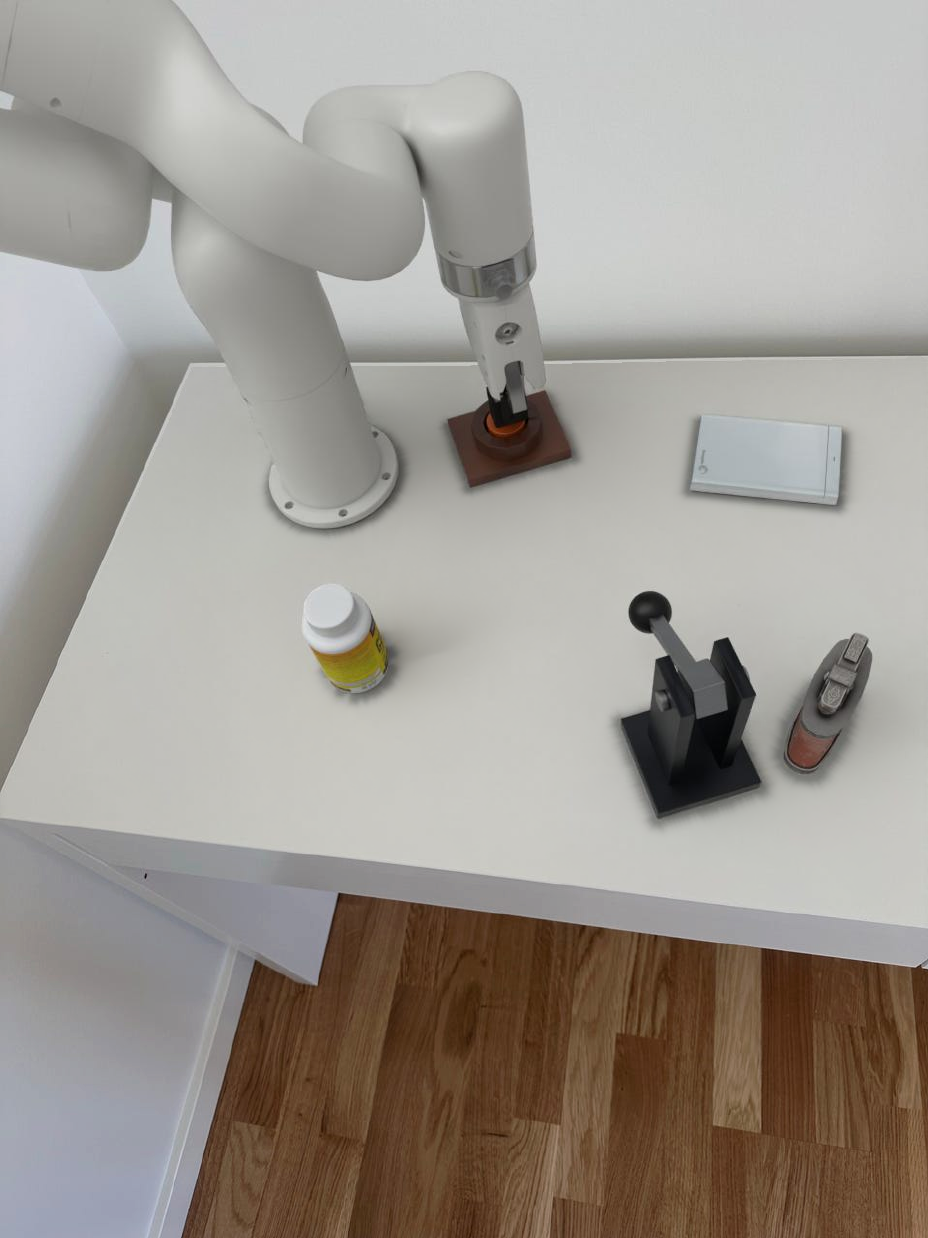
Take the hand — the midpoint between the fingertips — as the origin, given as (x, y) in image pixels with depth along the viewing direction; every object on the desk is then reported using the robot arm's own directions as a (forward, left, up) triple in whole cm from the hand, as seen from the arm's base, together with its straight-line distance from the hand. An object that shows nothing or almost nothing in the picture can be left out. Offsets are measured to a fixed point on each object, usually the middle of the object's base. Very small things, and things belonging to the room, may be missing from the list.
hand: (509, 417), depth 85 cm
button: (0, 0, -2) cm, 2 cm away
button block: (0, 0, -3) cm, 3 cm away
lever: (+31, +4, +5) cm, 32 cm away
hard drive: (+11, +21, -4) cm, 24 cm away
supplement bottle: (+19, -19, -4) cm, 27 cm away
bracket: (+35, +4, -3) cm, 35 cm away
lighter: (+36, +14, -4) cm, 39 cm away
